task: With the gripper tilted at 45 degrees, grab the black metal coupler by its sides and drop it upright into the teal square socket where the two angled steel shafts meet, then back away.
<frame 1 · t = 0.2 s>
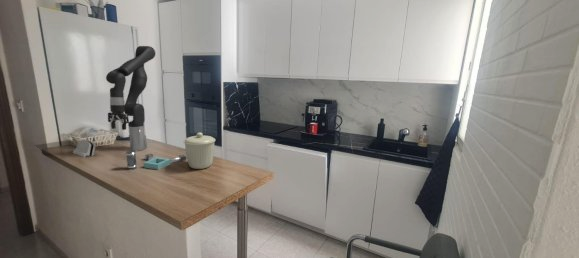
hand: (118, 129, 155), 18 cm above the countertop, tool pointing down, fingers open, 8 cm apart
shaft 2: (176, 159, 150), on the countertop
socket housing: (157, 165, 143), on the countertop
coupler: (132, 168, 137), on the countertop
canister: (200, 166, 145), on the countertop
shaft 1: (151, 158, 150), on the countertop
hinge: (85, 154, 158), on the countertop
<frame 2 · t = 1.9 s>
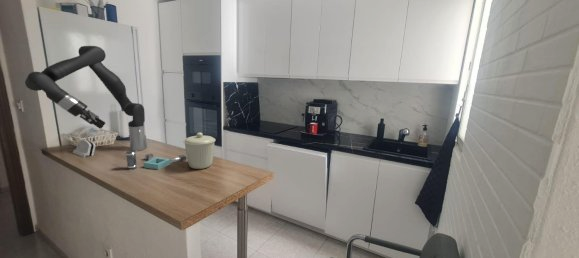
hand: (103, 125, 130), 25 cm above the countertop, tool tilted 45°, fingers open, 8 cm apart
nothing on the countertop moved.
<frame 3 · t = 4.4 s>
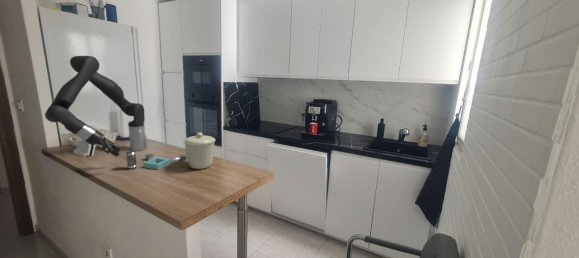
hand: (118, 153, 133), 10 cm above the countertop, tool tilted 45°, fingers open, 8 cm apart
nothing on the countertop moved.
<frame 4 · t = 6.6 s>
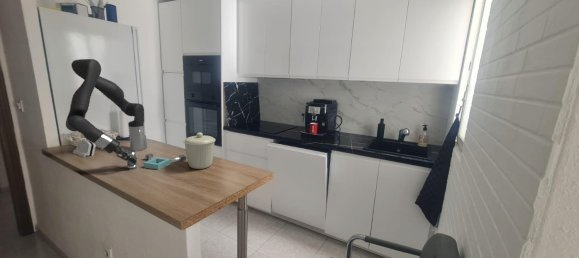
hand: (135, 160, 138), 4 cm above the countertop, tool tilted 45°, fingers closed on coupler, 4 cm apart
coupler: (132, 168, 137), on the countertop, touching gripper
everything else where it was.
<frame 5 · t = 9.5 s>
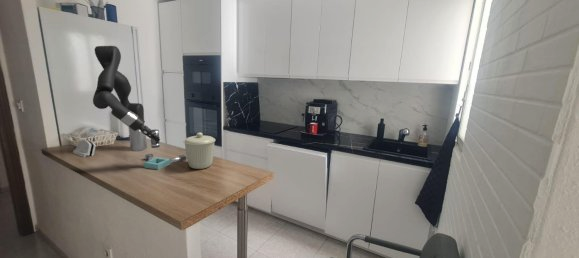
hand: (158, 139, 140), 16 cm above the countertop, tool tilted 45°, fingers closed on coupler, 4 cm apart
coupler: (155, 146, 140), point 12 cm above the countertop, touching gripper
everything else where it was.
when the fingers open (5 cm above the countertop, at t = 12.3 s): coupler drops 1 cm, resting in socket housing.
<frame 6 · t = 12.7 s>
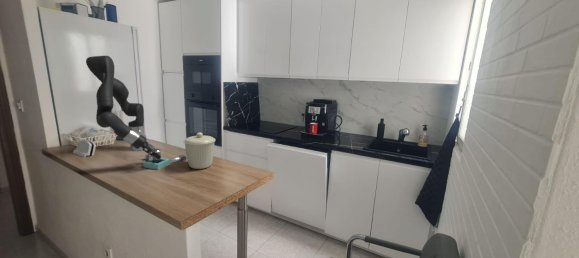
hand: (159, 155, 142), 6 cm above the countertop, tool tilted 45°, fingers open, 7 cm apart
coupler: (157, 165, 143), resting in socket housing
everything else where it was.
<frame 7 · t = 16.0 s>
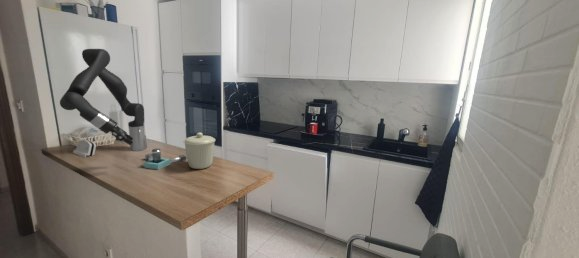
hand: (131, 141, 133), 16 cm above the countertop, tool tilted 45°, fingers open, 8 cm apart
nothing on the countertop moved.
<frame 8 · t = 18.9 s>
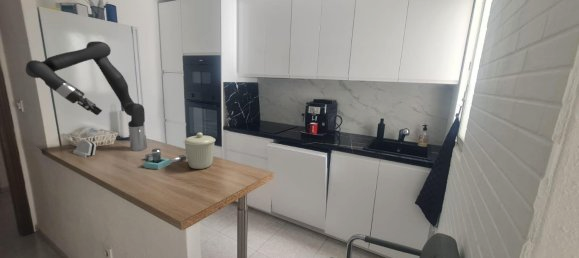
hand: (99, 113, 136), 31 cm above the countertop, tool tilted 45°, fingers open, 8 cm apart
nothing on the countertop moved.
at the end: coupler 0.1 cm off-centre on the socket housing, point 0.0 cm above the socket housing's base; coupler tilted 0°; the gripper is holding nothing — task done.
